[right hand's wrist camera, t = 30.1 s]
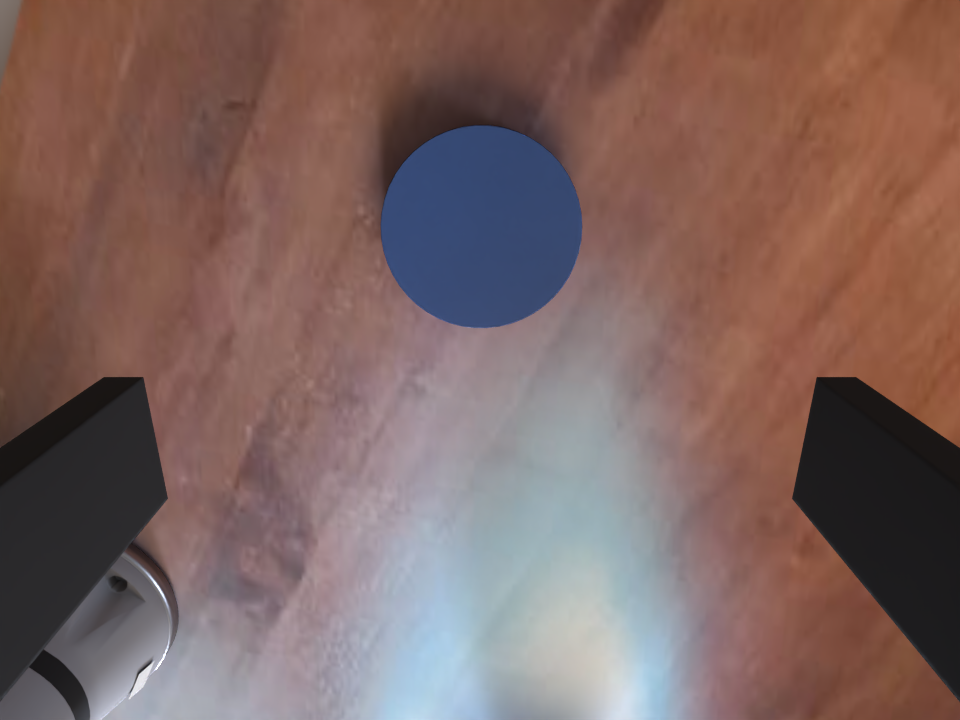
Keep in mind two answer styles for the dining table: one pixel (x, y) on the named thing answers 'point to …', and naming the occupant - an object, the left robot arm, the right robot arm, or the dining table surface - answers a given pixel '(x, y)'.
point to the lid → (481, 226)
